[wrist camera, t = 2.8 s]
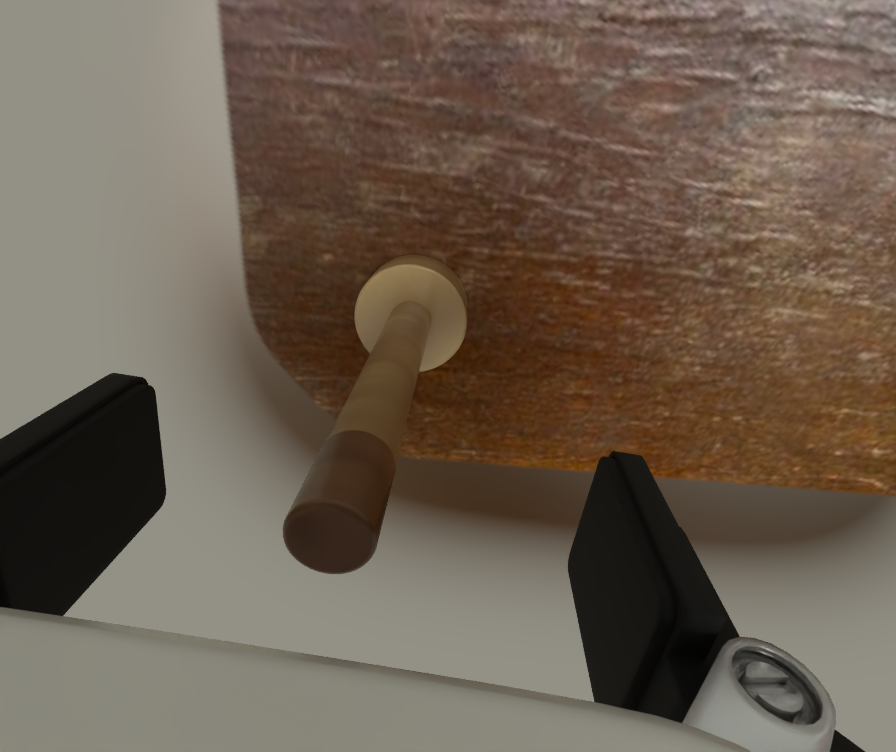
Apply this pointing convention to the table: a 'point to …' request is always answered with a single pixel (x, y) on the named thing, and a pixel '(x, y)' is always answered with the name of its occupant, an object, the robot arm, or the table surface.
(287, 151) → the table surface
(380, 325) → the stirrer
